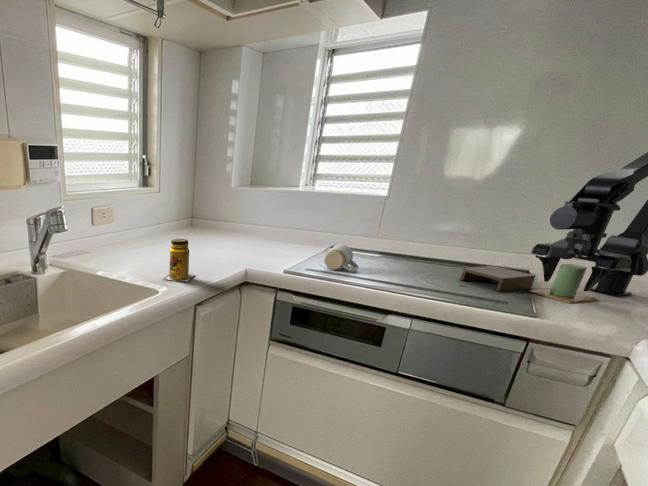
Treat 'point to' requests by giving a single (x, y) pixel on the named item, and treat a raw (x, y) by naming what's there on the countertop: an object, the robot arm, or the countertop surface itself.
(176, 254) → the condiment
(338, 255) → the ceramic mug
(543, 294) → the cork pad
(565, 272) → the spice tin
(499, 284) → the shelf
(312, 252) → the countertop surface
